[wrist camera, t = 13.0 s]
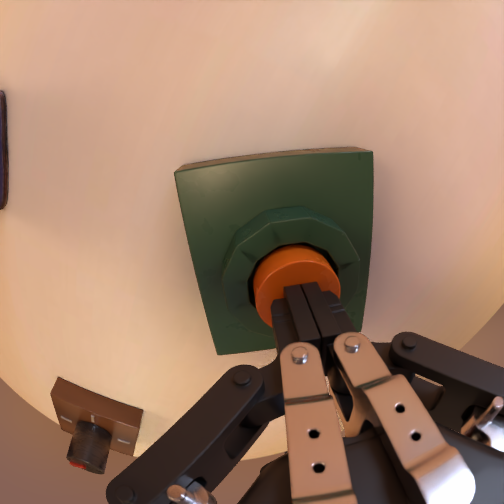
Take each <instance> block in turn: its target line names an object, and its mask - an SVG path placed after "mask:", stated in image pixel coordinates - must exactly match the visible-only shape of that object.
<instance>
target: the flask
mask: <svg viewBox="0 0 504 504" xmlns="http://www.w3.org/2000/svg"><path fill="white" fill-rule="evenodd" d="M4 97H5V96H4V93H2V92H0V210H1V209H3V208H4V207H5V206H6V202H7V194H8V184H7V183H8V182H7V181H8V172H7V171H8V170H7V169H8V159H7V148H6V140H7V137H6V104H5V99H4Z"/></svg>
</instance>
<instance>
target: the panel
mask: <svg viewBox="0 0 504 504" xmlns="http://www.w3.org/2000/svg"><path fill="white" fill-rule="evenodd" d="M50 394H51V398H52V401H53V405H54V408H55V411H56V414H57V417H58V420H59V423H60V426H61V429H62V430H63V431H66V432H68V433H70V434H72V435H73V433H74V430H75V427H76V424H77V422H79V421H85V422H89V423H92V424H95V425H97V426H99V427H101V428H103V429H104V430H106V431H107V432H108V433H110V435H111V436H112V441H111V445H110V449H111V450H114V451H117V452H120V453H123V454H126V455H130V456H133V454H134V449H135V445H136V440H137V436H138V432H139V428H140V423H141V418H142V413H143V410H141V409H138V408H134V407H131V406H128V405H125V404H122V403H120V402H117V401H114V400H111V399H108V398H106V397H103V396H101V395H98V394H95V393H93V392H91V391H88V390H86V389H83V388H81V387H79V386H76V385H74V384H72V383H70V382H68V381H65V380H63V379H61V378H59V377H58V378H57V380H56V382H55V384H54V387H53V389H52V391H51V393H50Z"/></svg>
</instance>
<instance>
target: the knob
mask: <svg viewBox="0 0 504 504" xmlns="http://www.w3.org/2000/svg"><path fill="white" fill-rule="evenodd" d="M111 441H112V436H111V435H110V433H108V432H107V431H106V430H104V429H103V428H101V427H99V426H97V425H95V424H92V423H89V422H85V421H79V422H77V424H76V427H75V430H74V433H73V437H72V440H71V443H70V446H69V450H68V453H67V457H66V458H67V459H68V460H69V461H70V464H71V465H72V466H75V467H79V468H82V469H84V470H87V471H89V472H92V473H96V474H104V472H105V468H106V463H107V458H108V454H109V449H110V445H111Z"/></svg>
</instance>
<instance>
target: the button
mask: <svg viewBox="0 0 504 504" xmlns="http://www.w3.org/2000/svg"><path fill="white" fill-rule="evenodd" d="M310 282H317V283H318V285H319V287H320V289H321V291H322V292H323V291H328V290H330V291H331V292H332V293H334V294H335V295H337V296H338V298H340V282H339V279H338V277H337V275H336V274H335V272H334V271H333V269H332V268H331V266H330V264H329V263H328V261H327V260H326V258H325V257H324V256H323V255H322V254H321V253H320V252H319V251H317V250H316V249H314V248H312V247H309V246H305V245H288V246H284V247H281V248H278V249H276V250H274V251H272V252H271V253H269V254H268V255H267V256H266V257H265V258H264V259H263V260H262V261H261V262H260V263H259V265H258V267H257V268H256V271H255V273H254V277H253V289H254V296H255V303H256V309H257V312H258V314H259V316H260V317H261V319H262V320H263V321H264V322H265V323H266V324H267V325H269V326H270V327H272V318H271V309H270V307H271V305H272V302H273V300H274V299H281V298H284V296H283V287H285V286H291V285H298V284H299V285H300V284H304V283H310Z"/></svg>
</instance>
